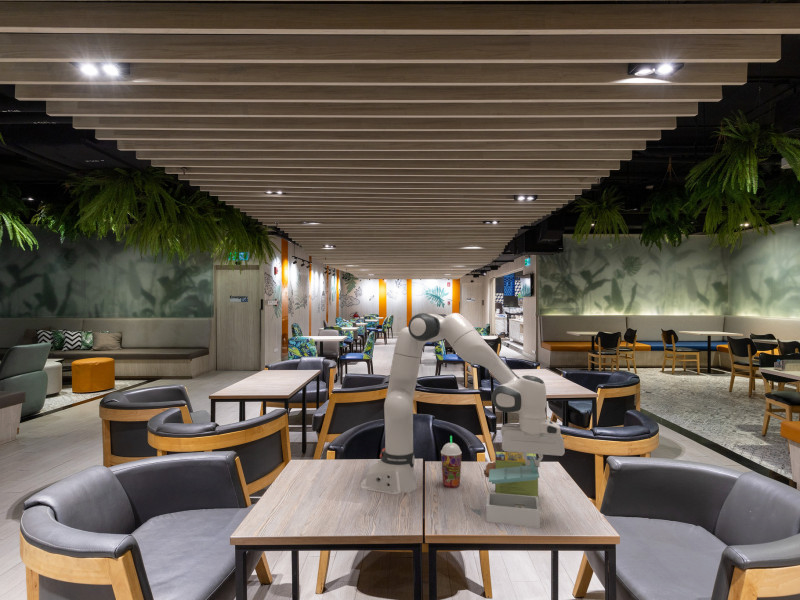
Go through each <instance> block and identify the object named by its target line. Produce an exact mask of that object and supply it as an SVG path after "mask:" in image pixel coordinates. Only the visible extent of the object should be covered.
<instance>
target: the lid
mask: <svg viewBox="0 0 800 600" xmlns="http://www.w3.org/2000/svg"><path fill="white" fill-rule="evenodd" d="M530 463H531V465H530V466H521V465H520V467H510V468H506V467H505V468H500V469H490V471H489V478H488V483H492V485H495V484H498V483H509V482H519V481H530V480H537V478H538V479H539V478H540V473H539V467H535V464H534V459H533V456H530Z"/></svg>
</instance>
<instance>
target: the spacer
mask: <svg viewBox="0 0 800 600" xmlns="http://www.w3.org/2000/svg"><path fill="white" fill-rule="evenodd" d="M515 507H519V508H525V505H523V504H516V505H515Z"/></svg>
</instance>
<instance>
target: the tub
mask: <svg viewBox="0 0 800 600" xmlns="http://www.w3.org/2000/svg"><path fill="white" fill-rule="evenodd" d="M486 496H487V497H486V504H485V505H486V509H485V510H486V522H487V523H492V524H493V523H494V524H500V523H501V525H502V524H503V525H509V524H510V526H517V525H519V526H518V527H527V528H534V529H535V528H536V529H541V508H540V502H539V496H538V497H537V496H525V495H513V494H502V493H495V492H489V491H488V492H487V495H486ZM516 504H523V505H525V508H519V507H515V505H516Z"/></svg>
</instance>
